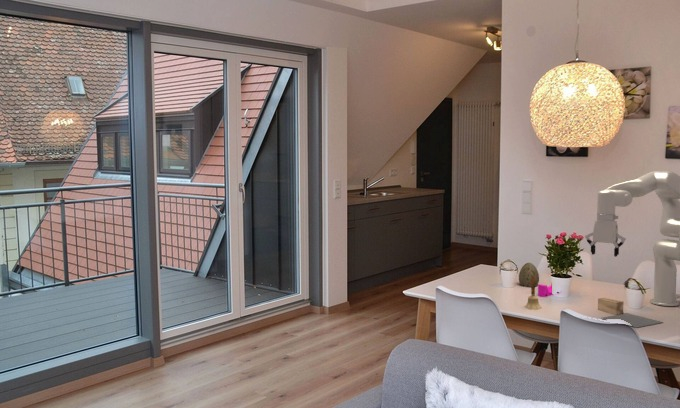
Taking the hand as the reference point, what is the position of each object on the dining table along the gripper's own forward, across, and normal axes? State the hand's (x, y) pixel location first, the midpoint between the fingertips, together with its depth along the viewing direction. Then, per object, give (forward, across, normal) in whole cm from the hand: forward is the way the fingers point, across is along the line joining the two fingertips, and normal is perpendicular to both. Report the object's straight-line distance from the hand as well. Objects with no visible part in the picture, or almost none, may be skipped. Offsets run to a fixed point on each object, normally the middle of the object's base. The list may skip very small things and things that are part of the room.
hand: (604, 255), depth 280 cm
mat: (+28, -13, +1) cm, 31 cm away
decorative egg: (+28, +48, -37) cm, 67 cm away
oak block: (+28, -1, -10) cm, 30 cm away
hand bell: (+29, +31, +4) cm, 42 cm away
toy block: (+28, +34, -25) cm, 50 cm away
